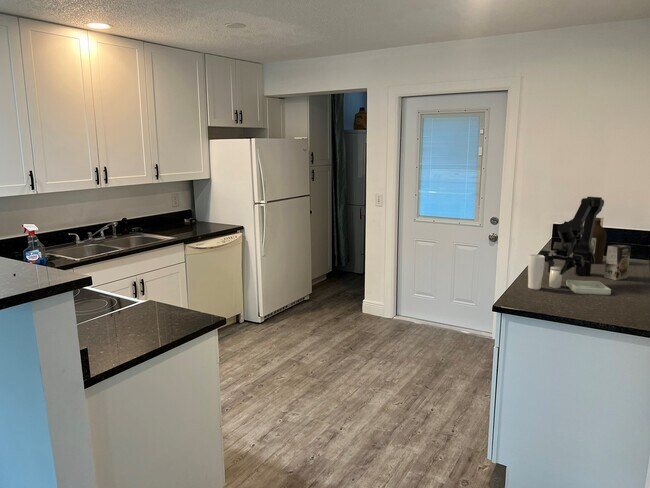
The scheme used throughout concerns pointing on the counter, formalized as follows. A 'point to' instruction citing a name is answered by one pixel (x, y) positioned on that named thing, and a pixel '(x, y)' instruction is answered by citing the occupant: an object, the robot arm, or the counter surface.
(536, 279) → the drinking glass
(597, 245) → the olive oil
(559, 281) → the shaker
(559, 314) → the counter surface
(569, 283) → the tray
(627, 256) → the coffee box
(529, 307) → the counter surface
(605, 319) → the counter surface
